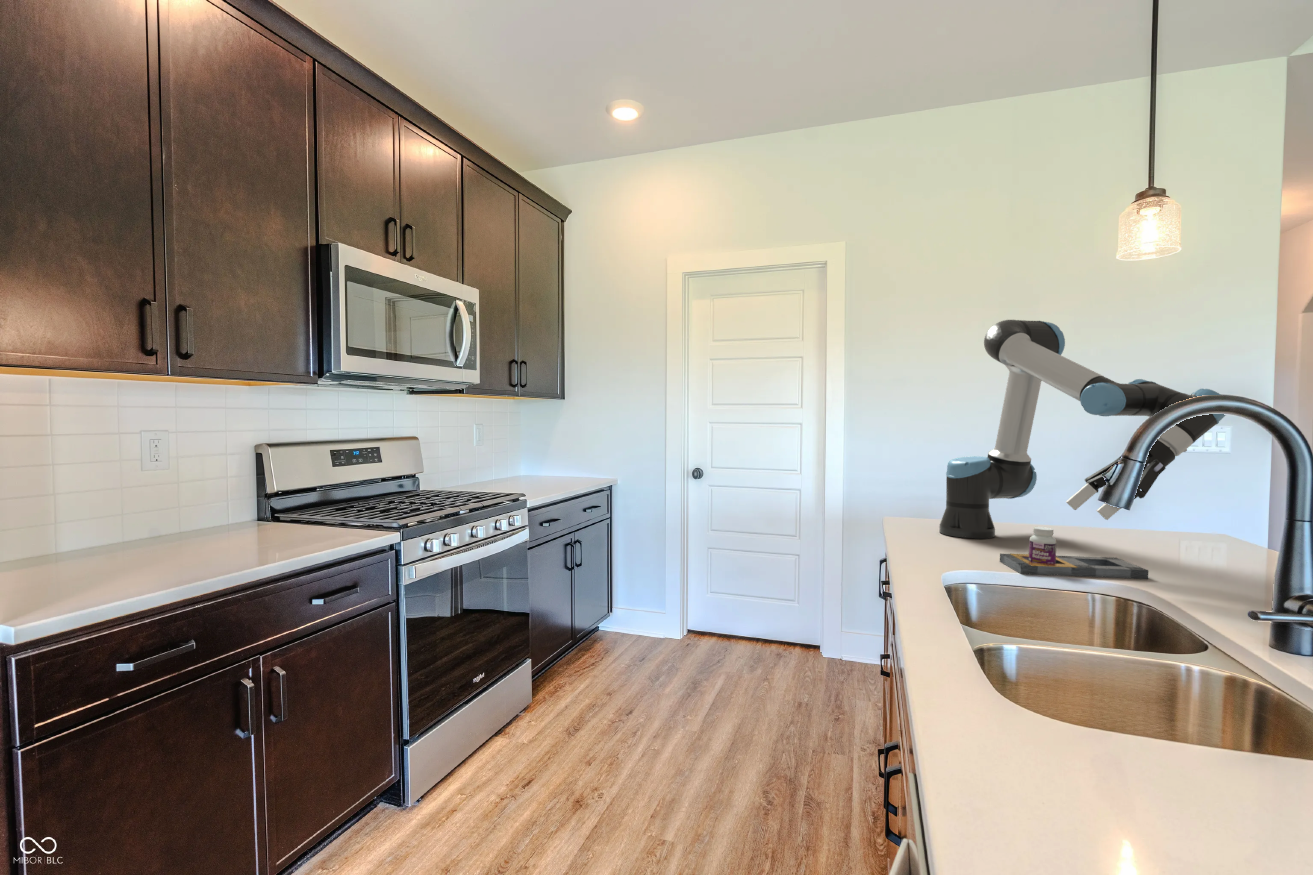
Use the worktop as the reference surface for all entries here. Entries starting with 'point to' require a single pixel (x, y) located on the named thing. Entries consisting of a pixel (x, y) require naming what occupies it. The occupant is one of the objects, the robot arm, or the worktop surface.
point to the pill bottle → (1042, 546)
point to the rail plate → (1076, 566)
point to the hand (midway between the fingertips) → (1085, 510)
